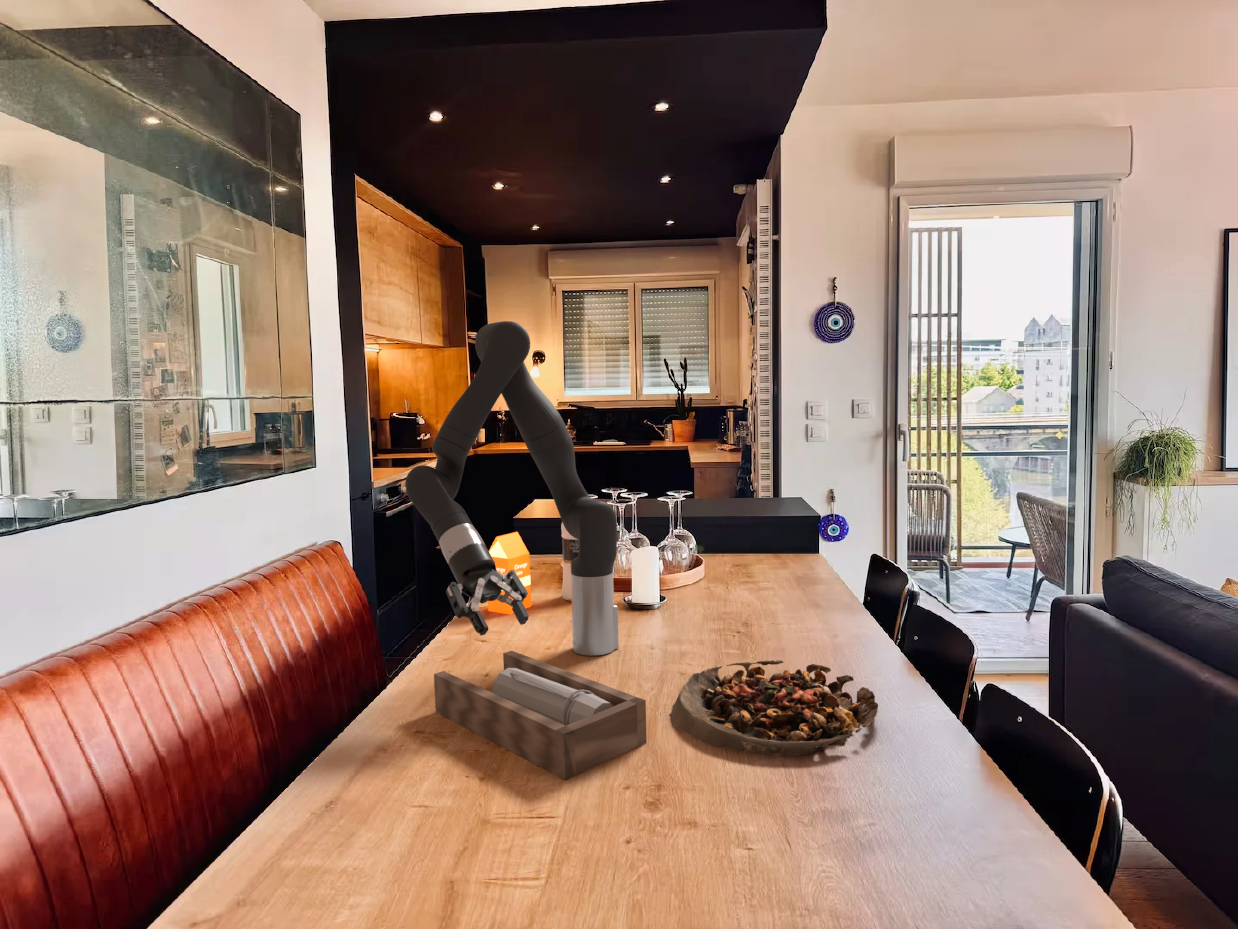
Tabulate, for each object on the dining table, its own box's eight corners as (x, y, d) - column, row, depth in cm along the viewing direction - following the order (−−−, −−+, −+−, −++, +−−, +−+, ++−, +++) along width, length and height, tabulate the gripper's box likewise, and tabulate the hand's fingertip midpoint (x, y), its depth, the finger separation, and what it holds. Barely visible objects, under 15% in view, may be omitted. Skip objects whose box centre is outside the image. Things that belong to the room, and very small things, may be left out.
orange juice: (531, 606, 207) (529, 532, 206) (510, 614, 200) (507, 538, 198) (509, 602, 212) (506, 530, 210) (487, 610, 204) (484, 535, 202)
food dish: (878, 696, 145) (880, 656, 144) (875, 785, 114) (877, 734, 113) (694, 672, 156) (694, 634, 155) (645, 746, 125) (645, 700, 124)
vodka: (584, 591, 222) (581, 487, 219) (601, 598, 214) (598, 490, 211) (555, 597, 217) (552, 490, 214) (572, 604, 209) (569, 493, 206)
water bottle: (528, 685, 145) (625, 721, 127) (499, 716, 140) (596, 758, 123) (507, 648, 141) (605, 681, 124) (477, 679, 136) (574, 717, 119)
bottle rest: (435, 712, 139) (433, 673, 138) (512, 685, 151) (511, 650, 150) (565, 780, 113) (564, 734, 113) (646, 742, 125) (645, 700, 124)
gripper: (439, 547, 136) (479, 624, 129) (506, 536, 146) (546, 606, 139) (425, 572, 140) (462, 648, 133) (491, 560, 150) (529, 630, 143)
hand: (505, 627), depth 136 cm, fingers open, 8 cm apart
